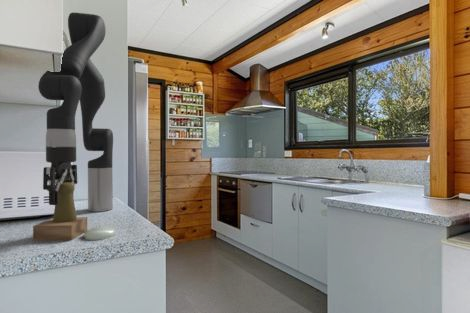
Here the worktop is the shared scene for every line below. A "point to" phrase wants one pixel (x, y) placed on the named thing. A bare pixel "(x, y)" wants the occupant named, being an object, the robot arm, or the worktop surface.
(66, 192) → the olive stamp handle
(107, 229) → the white domed disc
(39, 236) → the walnut plinth
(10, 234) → the worktop surface
